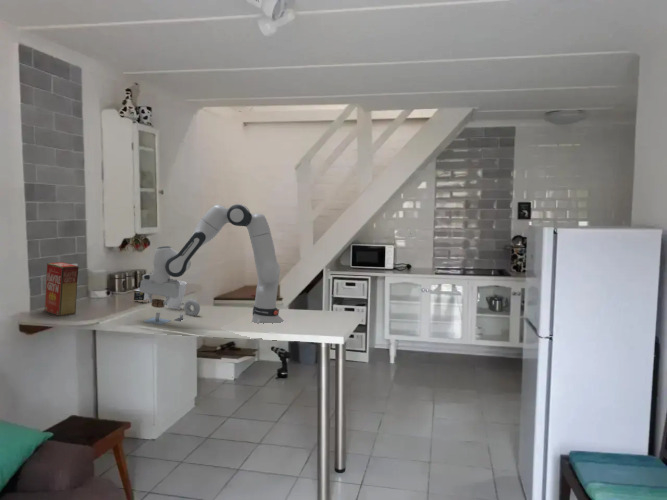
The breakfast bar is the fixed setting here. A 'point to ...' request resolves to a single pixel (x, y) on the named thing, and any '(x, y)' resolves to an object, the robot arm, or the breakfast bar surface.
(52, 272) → the food packaging
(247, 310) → the breakfast bar surface
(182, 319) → the stand
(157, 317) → the hub
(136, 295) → the medicine bottle
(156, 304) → the ring
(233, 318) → the breakfast bar surface
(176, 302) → the cup
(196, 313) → the donut
